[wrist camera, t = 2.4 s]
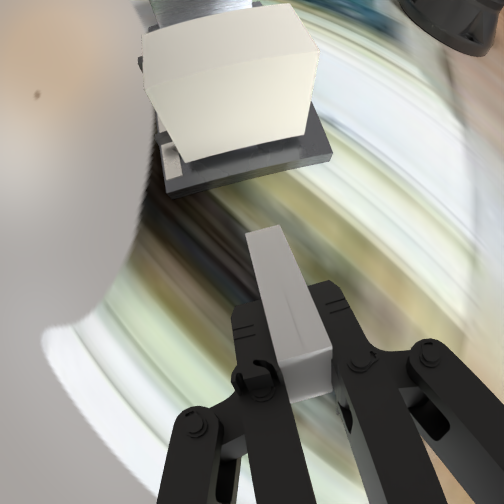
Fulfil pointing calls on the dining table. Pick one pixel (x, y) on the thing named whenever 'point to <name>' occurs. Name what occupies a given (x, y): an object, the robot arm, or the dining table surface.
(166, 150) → the frame
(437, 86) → the dining table surface
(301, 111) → the block
